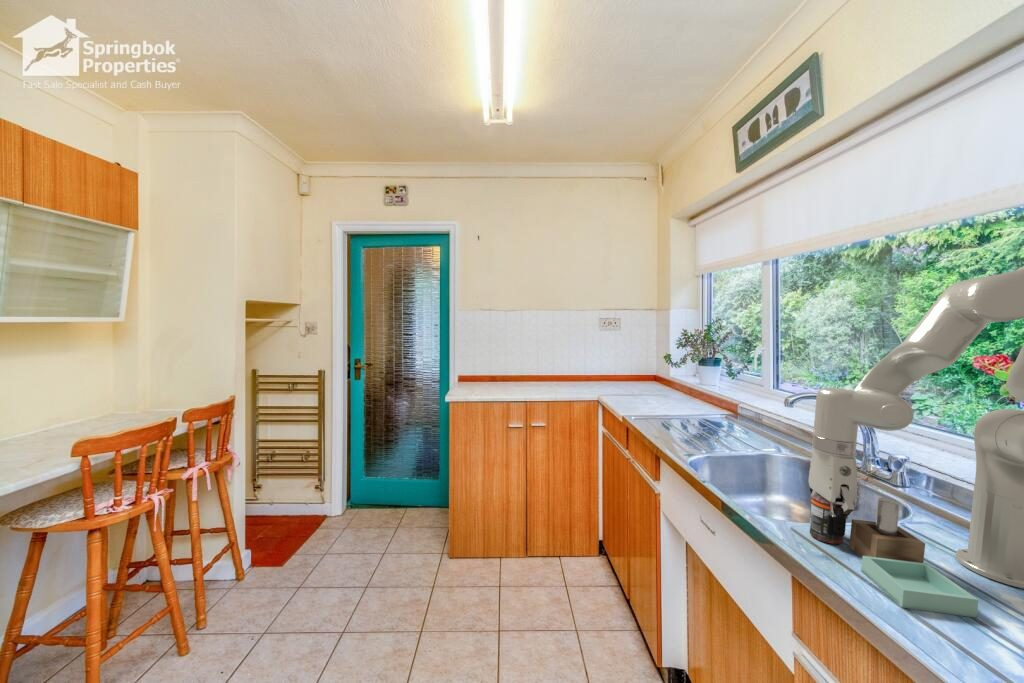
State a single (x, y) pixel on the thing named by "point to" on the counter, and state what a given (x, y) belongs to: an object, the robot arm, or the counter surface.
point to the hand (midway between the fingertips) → (826, 526)
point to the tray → (919, 586)
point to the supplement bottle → (822, 520)
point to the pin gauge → (887, 517)
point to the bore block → (885, 543)
